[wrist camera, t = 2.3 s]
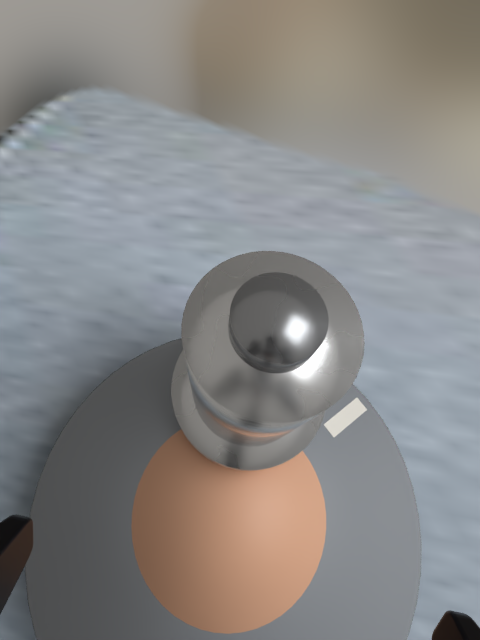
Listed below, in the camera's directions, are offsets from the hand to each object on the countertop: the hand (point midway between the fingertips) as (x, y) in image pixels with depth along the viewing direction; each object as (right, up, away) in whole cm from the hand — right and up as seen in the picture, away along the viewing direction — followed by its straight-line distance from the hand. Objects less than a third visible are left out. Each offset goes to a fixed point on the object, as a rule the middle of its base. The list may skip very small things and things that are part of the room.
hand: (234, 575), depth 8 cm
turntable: (0, -4, +11) cm, 11 cm away
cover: (+1, +2, +12) cm, 12 cm away
